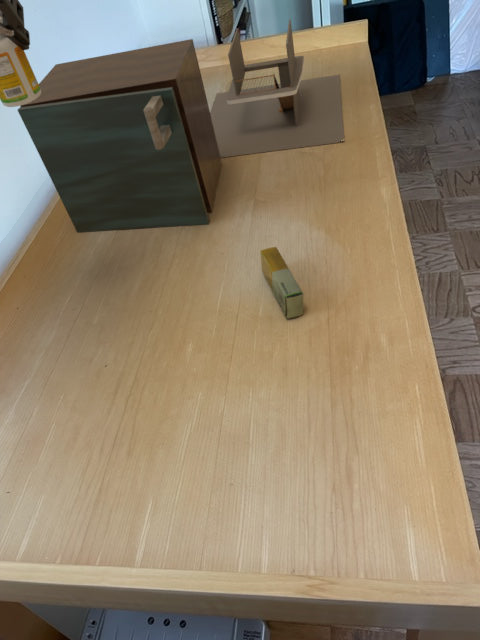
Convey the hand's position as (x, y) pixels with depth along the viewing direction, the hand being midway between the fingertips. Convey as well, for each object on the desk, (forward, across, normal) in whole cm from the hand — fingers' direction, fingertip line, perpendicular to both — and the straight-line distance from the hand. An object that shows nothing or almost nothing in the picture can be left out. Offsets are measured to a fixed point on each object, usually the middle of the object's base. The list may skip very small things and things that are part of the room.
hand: (4, 46), depth 68 cm
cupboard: (+40, -4, +10) cm, 42 cm away
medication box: (+17, -32, +33) cm, 49 cm away
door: (+30, -4, +20) cm, 37 cm away
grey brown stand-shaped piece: (+61, -27, -10) cm, 67 cm away
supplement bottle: (+3, 0, +6) cm, 7 cm away
